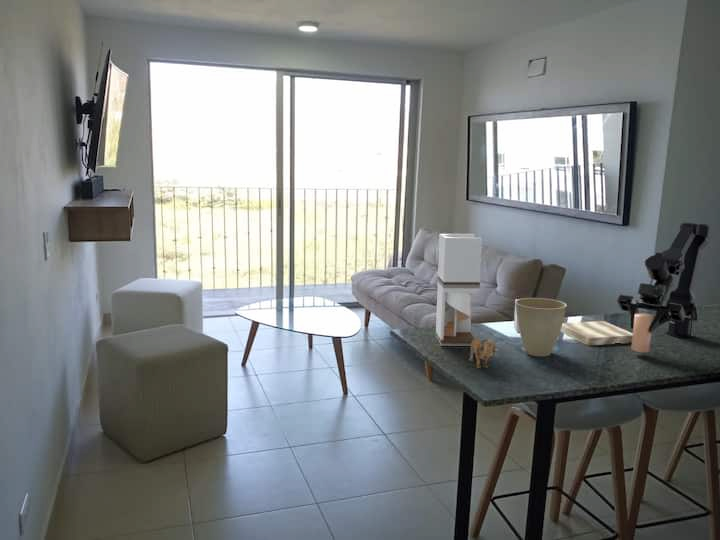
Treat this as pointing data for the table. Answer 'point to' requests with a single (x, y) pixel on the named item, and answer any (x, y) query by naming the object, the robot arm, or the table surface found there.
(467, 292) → the white two-tier tower
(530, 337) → the plant pot
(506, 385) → the table surface
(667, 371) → the table surface
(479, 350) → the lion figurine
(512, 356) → the table surface
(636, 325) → the peach capsule
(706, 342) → the table surface
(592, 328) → the birch base plate
